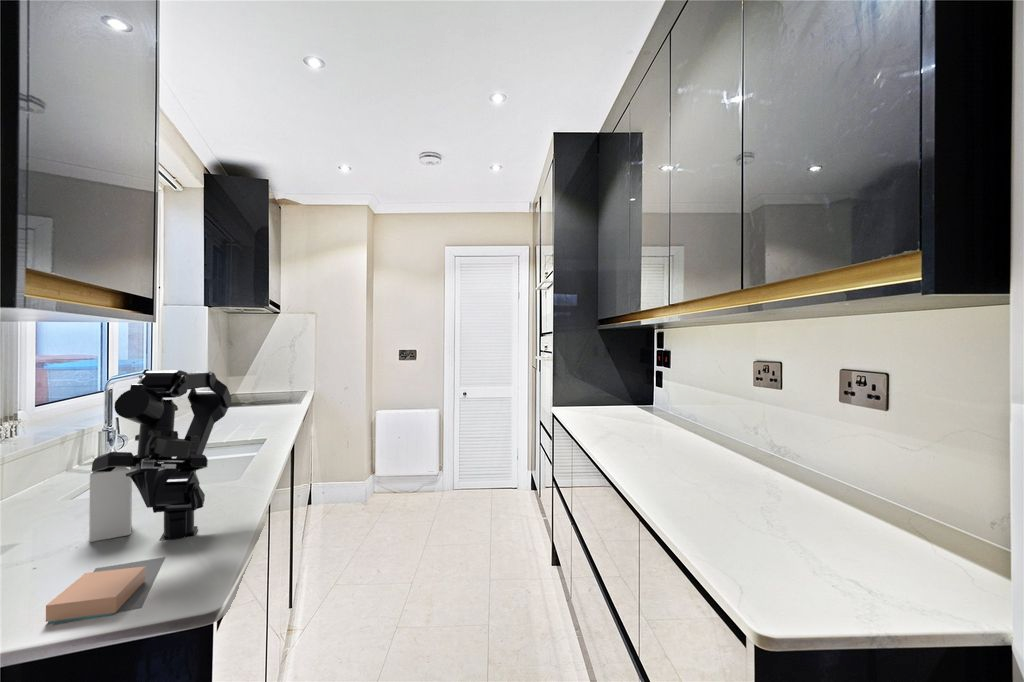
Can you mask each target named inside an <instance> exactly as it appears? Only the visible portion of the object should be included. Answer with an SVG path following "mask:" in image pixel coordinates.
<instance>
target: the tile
mask: <svg viewBox="0 0 1024 682" xmlns="http://www.w3.org/2000/svg"><path fill="white" fill-rule="evenodd" d="M145 578H146V566H144V567H135V568H126V569H117V570H108V571H99V572H93V571H91V572H85V573H83V575H81V576H80V577H79V578H77V579H76V580H75V581H74V582H73V583H71V584H70V585H69V586H68V587H66V588H65V589H64V590H63V591H61V592H60V593H59V594H58V595H56V597H55V598H53V599H52V600H51V601H50V602H49V603H47V604H46V605H45V622H47V624H54V623H55V622H62V621H70V620H77V619H83V620H86V619H85V618H89V619H93V618H92V617H94V618H98V617H106V616H114V614H116V613H115V612H116V611H117V610H118V609H119V608H120V607H121V606H122V605H123V604H124V603H125V602H126V601H127V600H128V598H129V597H130V596H131V595H132V594H133V593H134V592H135V591H136V590H137V589H138V588H139V587H140V585H141V584H142V583H143V582H144V581H145Z"/></svg>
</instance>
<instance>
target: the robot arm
mask: <svg viewBox="0 0 1024 682" xmlns="http://www.w3.org/2000/svg"><path fill="white" fill-rule="evenodd" d="M203 388H209V390H196V389H203ZM188 390H190V391H189V393H188ZM187 393H188V396H187V399H188V402H189V404H190V408H191V411H192V414H193V417H192V419H191V423H190V425H189V427H188V428H187V431H186V433H185V436H184V438H179V432H178V431H176V430H174V428H175V417H176V416H175V415H176V411H178V410H179V408H178V405H177V404H176V403H175V402H174V401H173V399H172V398H174V399H175V398H179V397H182V396H184V395H185V394H187ZM170 398H171V399H170ZM231 405H232V396H231V393H230V390H229V388H228V386H227V385H226V384H224V383H223V382H221V381H220V380H219V379H218V378H217V376H216V374H215V373H214V372H212V371H193V372H186V371H185V370H181V369H176V370H175V369H172V370H170V369H168V370H161V369H160V370H156V369H155V370H153V369H152V370H147V371H146V372H145V373H144V375H143V376H141V378H140V379H139V380H138V382H137V383H132V384H130V389H128V390H125V391H124V392H123V393H121V394H120V395H119V396H118V397H117V399H115V402H114V411H115V413H116V414H117V415H118V416H119V417H121V418H124V419H126V420H129V421H132V422H134V423H137V424H139V432H138V433H139V434H137V435H135V436H134V441H137V443H138V444H137V454H136V455H135V454H133V452H130V451H129V452H124V451H114V452H111V451H110V452H108V453H104V454H101V455H98V456H96V457H95V458H94V460H93V461H92V464H91V465H92V466H91V472H111V471H112V470H113V469H115V468H116V467H130V472H129V473H126V476H129V477H131V479H132V483H134V485H135V487H136V488H137V490H138V492H139V494H140V496H141V498H142V500H143V502H144V504H145V507H146V508H149V509H150V508H152V511H153V513H154V514H155V513H163V532H162V534H161V536H160V538H159V540H158V541H160V542H162V541H169V540H170V541H171V540H175V539H176V540H178V539H183V538H187V537H188V538H189V537H195V536H196V533H197V530H198V526H197V525H195V511H196V510H198V509H201V508H204V503H205V496H206V494H205V492H204V491H203V489H202V488H201V486H200V485H201V484H200V480H199V478H198V475H197V471H199V470H201V469H202V470H203V469H206V468H208V463H209V460H208V458H207V456H206V455H205V454H204V451H205V448H206V446H207V444H208V441H209V439H210V437H211V432H212V430H213V427H214V425H215V423H217V422H218V421H220V420H221V419H222V418H223V417H225V416H226V413H227V412H228V410H229V408H230V407H231ZM91 472H90V473H91Z"/></svg>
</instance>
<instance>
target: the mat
mask: <svg viewBox="0 0 1024 682" xmlns="http://www.w3.org/2000/svg"><path fill="white" fill-rule="evenodd" d="M165 559H166V556H163V557H157V558H151V559H147V560H146V559H145V560H138V561H132V562H126V563H120V564H114V565H107V566H102V567H96V568H95V569H94V570H93V571H92V572H99V571H108V570H117V569H126V568H135V567H144V566H146V578H145V581H144V582H143V583H142V584H141V585H140V587H139V588H138V589H137V590H136V591H135V592H134V593H133V594H132V595H131V596H130V597H129V598H128V600H127V601H126V602H125V603H124V604H123V605H122V606H121V607H120V608H119V609H118V610H117V611H116V612H115V613H114V614H117V613H122V612H123V613H124V612H129V611H134V610H138V609H142V608H143V605H144V603H145V602H146V599H147V597H148V594H149V593H150V590H151V588H152V587H153V584H154V582H155V581H156V578H157V576H158V574H159V572H160V569H161V568H162V565H163V563H164V561H165ZM93 618H95V617H92V618H91V619H93ZM89 619H90V618H85V619H77V620H70V621H62V622H55V623H52V626H57V625H63V624H67V623H72V622H78V621H83V620H89Z"/></svg>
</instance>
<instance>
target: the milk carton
mask: <svg viewBox="0 0 1024 682" xmlns="http://www.w3.org/2000/svg"><path fill="white" fill-rule="evenodd" d="M110 452H115V450H114V448H112V449H111V451H110ZM129 472H130V467H116V468H115V469H113V470H112V471H111V472H89V517H88V518H89V519H88V520H89V522H88V524H89V530H88V532H89V533H88V535H89V537H88V539H89V540H88V541H89V543H92V542H97V541H105V540H110V539H114V538H120V537H125V536H129V535H131V532H132V525H133V523H132V520H133V519H132V518H133V509H132V508H133V480H132V479H131V477H129V476H126V473H129Z"/></svg>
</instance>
